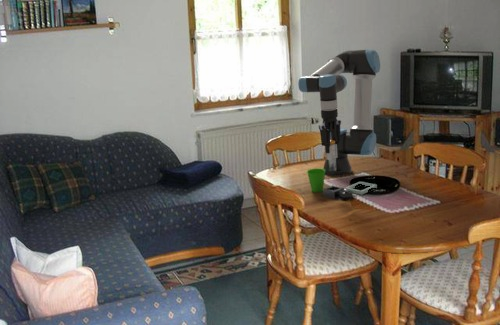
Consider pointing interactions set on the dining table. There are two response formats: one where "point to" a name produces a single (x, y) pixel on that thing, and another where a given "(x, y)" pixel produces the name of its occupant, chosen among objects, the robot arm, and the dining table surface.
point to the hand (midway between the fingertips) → (332, 158)
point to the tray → (350, 188)
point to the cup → (316, 179)
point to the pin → (332, 162)
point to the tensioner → (338, 193)
